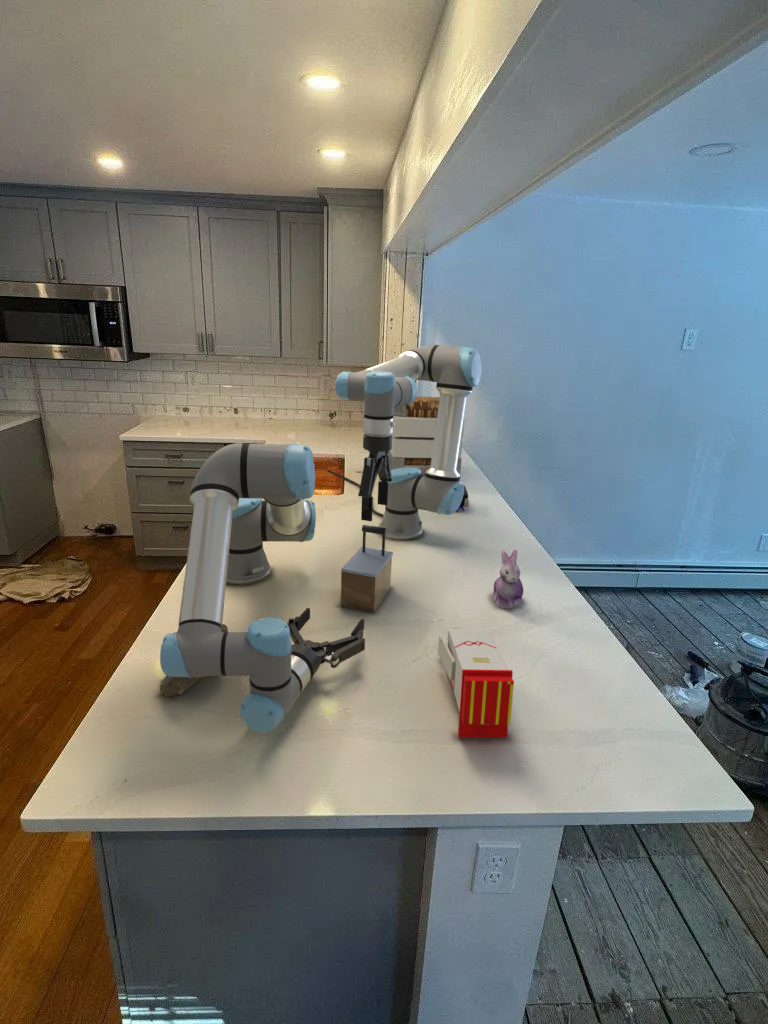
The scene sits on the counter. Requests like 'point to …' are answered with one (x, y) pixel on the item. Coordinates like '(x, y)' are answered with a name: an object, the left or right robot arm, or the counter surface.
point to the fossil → (180, 680)
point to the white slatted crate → (416, 434)
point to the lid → (368, 556)
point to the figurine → (508, 583)
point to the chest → (365, 589)
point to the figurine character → (464, 500)
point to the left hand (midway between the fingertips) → (335, 618)
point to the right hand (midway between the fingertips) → (374, 512)
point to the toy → (478, 682)
